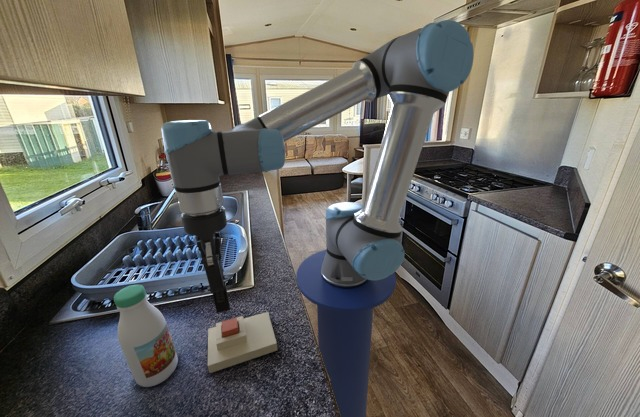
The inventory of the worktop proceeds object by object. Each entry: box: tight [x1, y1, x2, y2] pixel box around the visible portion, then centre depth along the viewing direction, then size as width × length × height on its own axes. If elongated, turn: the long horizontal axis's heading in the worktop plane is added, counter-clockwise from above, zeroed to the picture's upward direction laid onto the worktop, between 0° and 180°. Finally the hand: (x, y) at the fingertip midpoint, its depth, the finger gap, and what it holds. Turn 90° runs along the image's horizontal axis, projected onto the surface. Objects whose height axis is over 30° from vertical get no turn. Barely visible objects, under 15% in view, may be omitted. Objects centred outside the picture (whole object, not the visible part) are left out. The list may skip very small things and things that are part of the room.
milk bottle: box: [113, 284, 179, 388], centre depth 50 cm, size 8×8×20 cm
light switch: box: [207, 311, 278, 374], centre depth 59 cm, size 14×10×4 cm
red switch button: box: [221, 317, 239, 338], centre depth 58 cm, size 3×3×2 cm
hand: (223, 309), depth 57 cm, fingers closed
